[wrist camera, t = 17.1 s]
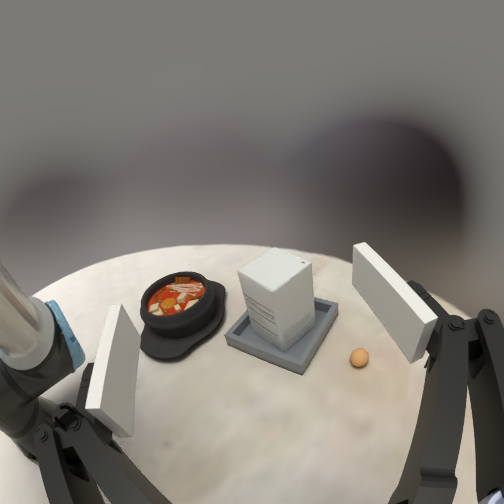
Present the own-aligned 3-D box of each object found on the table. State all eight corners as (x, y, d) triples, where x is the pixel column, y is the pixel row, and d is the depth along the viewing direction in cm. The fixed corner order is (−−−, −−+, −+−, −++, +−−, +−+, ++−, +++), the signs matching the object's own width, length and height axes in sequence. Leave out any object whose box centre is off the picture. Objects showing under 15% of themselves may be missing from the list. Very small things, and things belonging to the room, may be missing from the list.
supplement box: (283, 306, 59) (274, 245, 51) (316, 325, 53) (313, 261, 45) (251, 331, 55) (235, 269, 47) (283, 354, 48) (273, 291, 41)
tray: (228, 345, 53) (224, 334, 52) (270, 295, 64) (269, 285, 62) (302, 375, 44) (301, 365, 43) (337, 314, 55) (338, 303, 53)
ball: (346, 367, 44) (348, 356, 42) (353, 353, 46) (354, 342, 44) (364, 372, 42) (366, 361, 40) (369, 358, 44) (372, 347, 42)
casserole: (181, 282, 74) (171, 255, 70) (245, 290, 67) (237, 261, 63) (125, 350, 55) (107, 323, 51) (194, 375, 48) (178, 347, 44)
